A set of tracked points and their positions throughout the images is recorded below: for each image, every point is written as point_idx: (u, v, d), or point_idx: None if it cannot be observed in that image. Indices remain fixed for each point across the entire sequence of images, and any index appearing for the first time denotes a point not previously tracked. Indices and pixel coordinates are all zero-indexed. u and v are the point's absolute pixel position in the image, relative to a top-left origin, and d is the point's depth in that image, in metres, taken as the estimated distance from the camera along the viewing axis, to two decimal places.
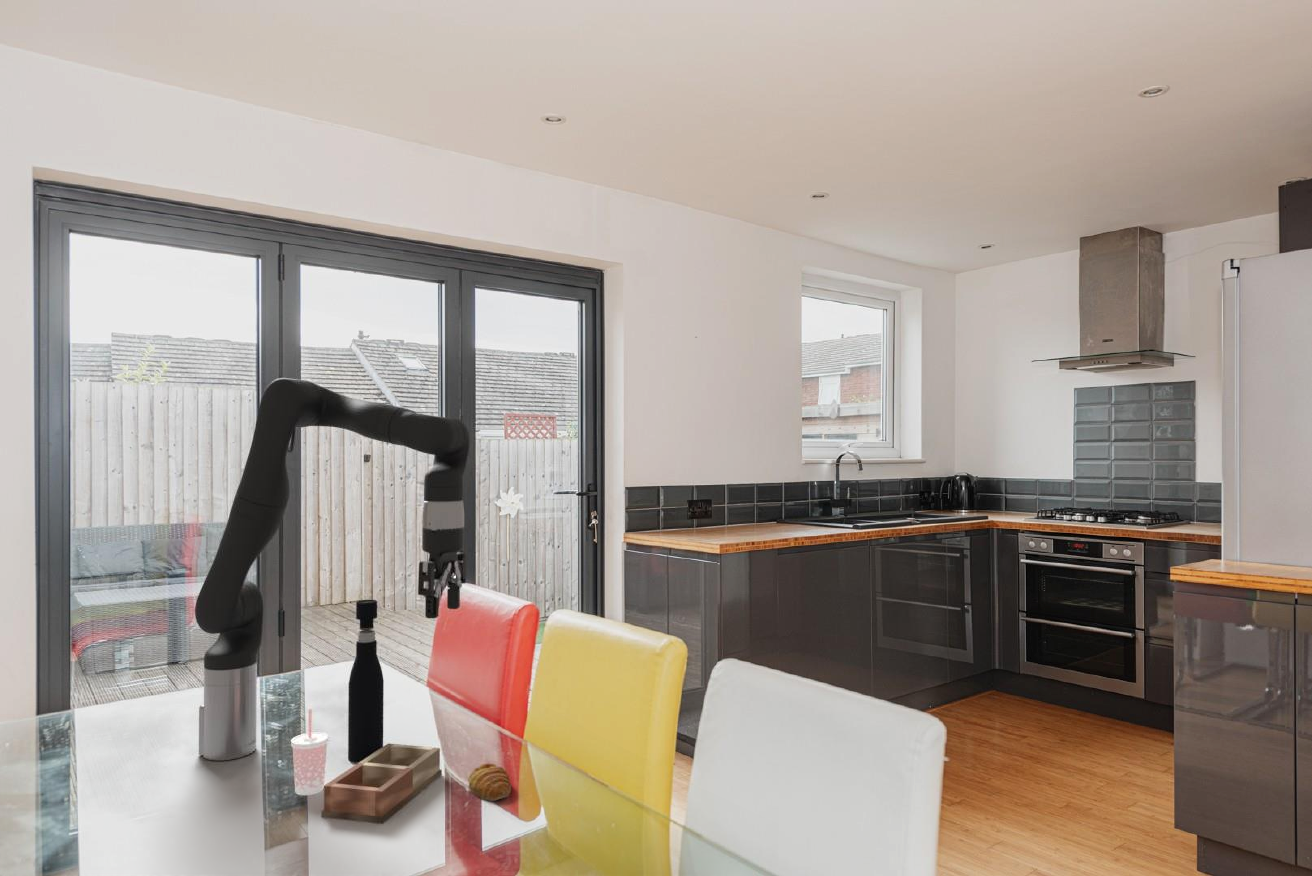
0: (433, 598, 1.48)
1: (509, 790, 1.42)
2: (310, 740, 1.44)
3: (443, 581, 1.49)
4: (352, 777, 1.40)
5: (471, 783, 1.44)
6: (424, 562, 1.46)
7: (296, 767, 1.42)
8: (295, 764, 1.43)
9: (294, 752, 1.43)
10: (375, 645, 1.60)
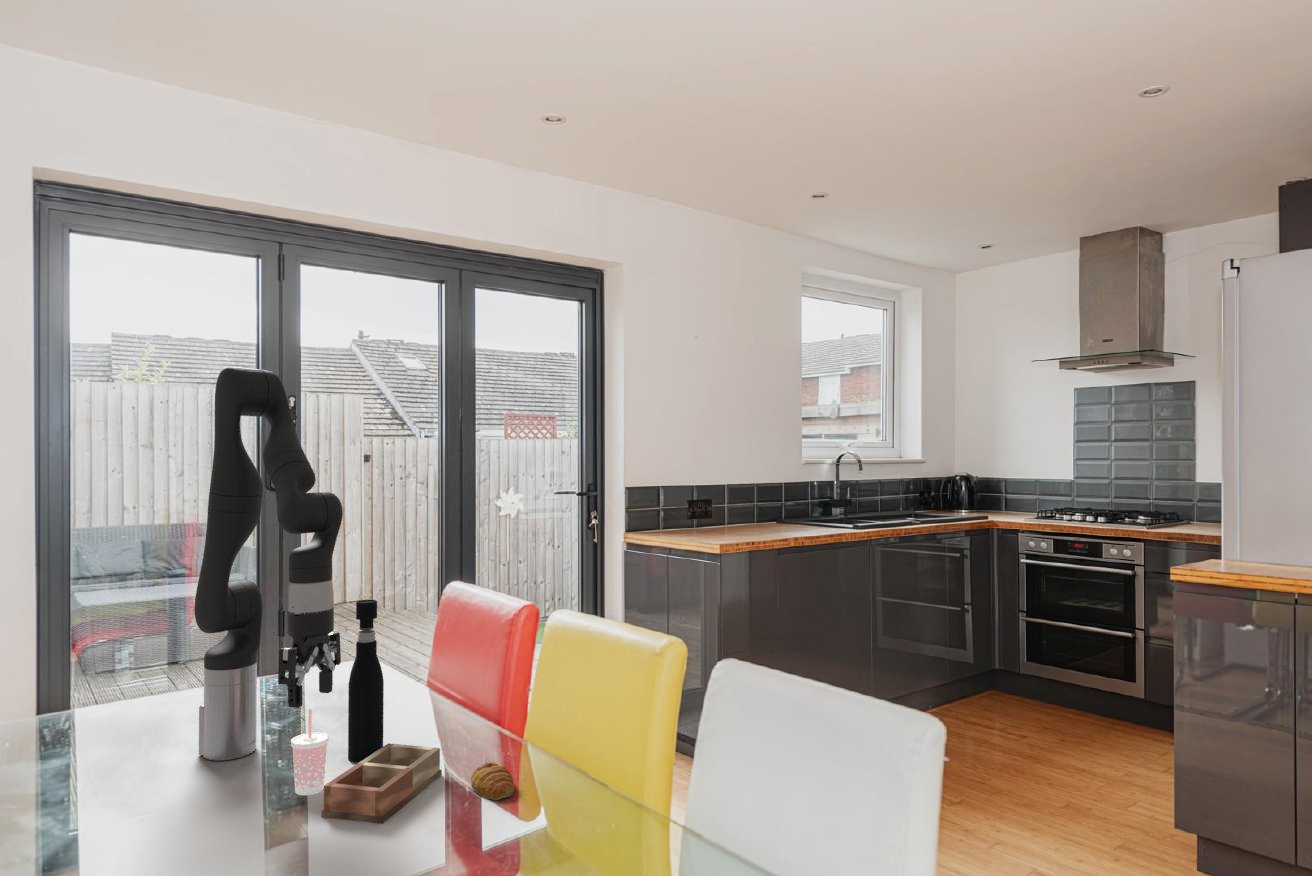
0: (296, 687, 1.40)
1: (512, 789, 1.42)
2: (310, 740, 1.44)
3: (308, 668, 1.41)
4: (352, 777, 1.40)
5: (474, 782, 1.44)
6: (284, 649, 1.39)
7: (296, 767, 1.42)
8: (295, 764, 1.43)
9: (294, 752, 1.43)
10: (375, 645, 1.60)
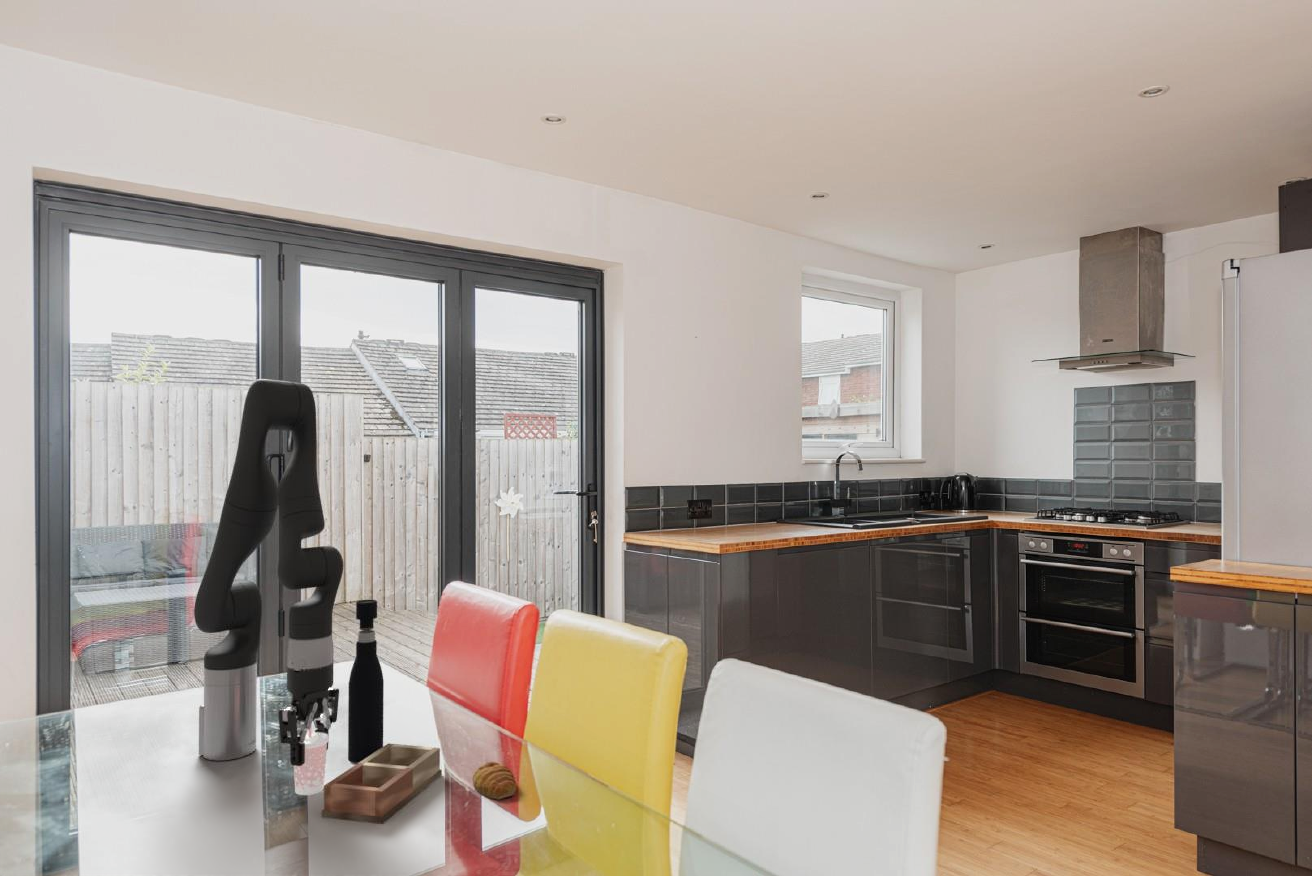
0: (299, 745, 1.41)
1: (515, 788, 1.42)
2: (310, 740, 1.44)
3: (309, 725, 1.42)
4: (352, 777, 1.40)
5: (476, 782, 1.44)
6: (284, 711, 1.38)
7: (296, 767, 1.42)
8: None
9: None
10: (375, 645, 1.60)
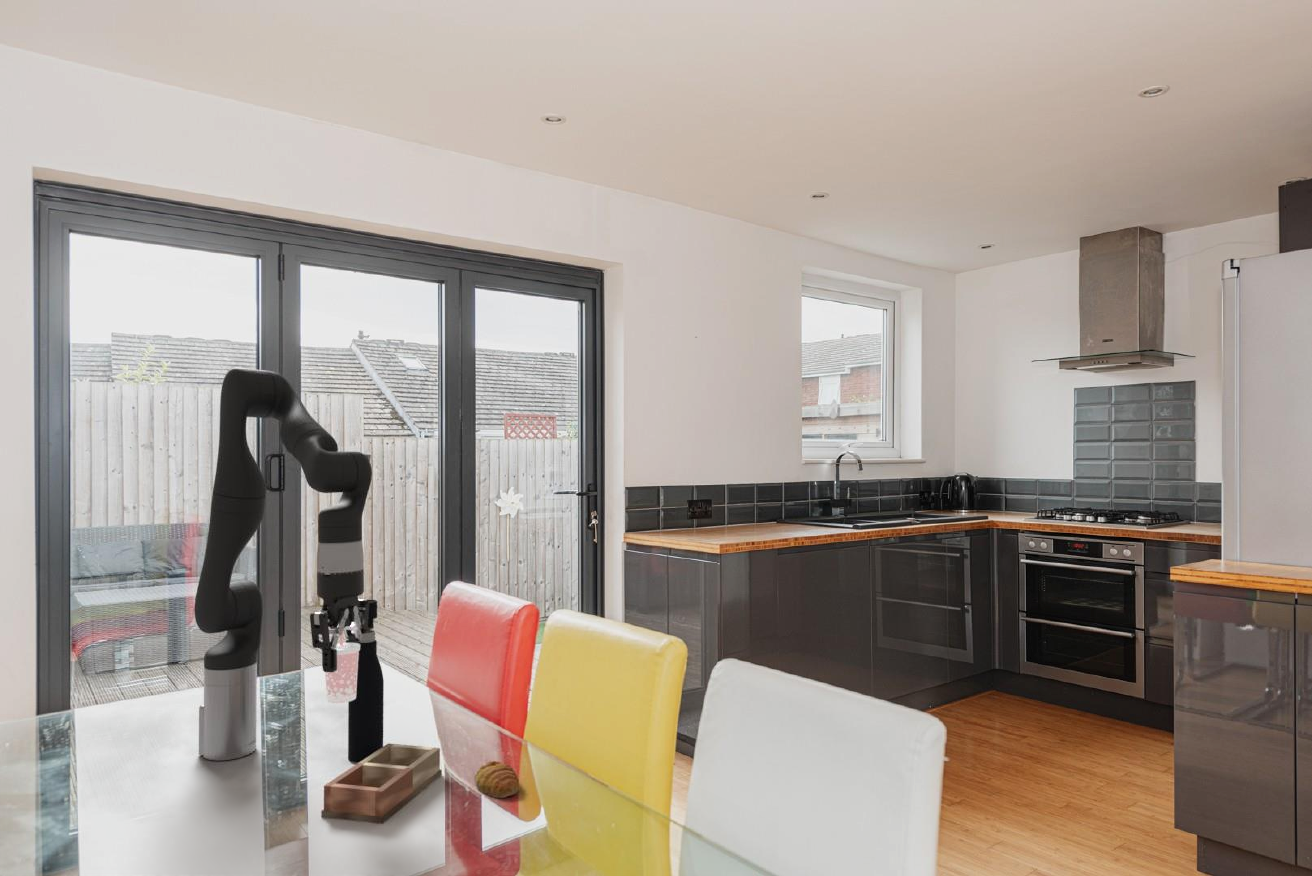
0: (331, 651, 1.37)
1: (518, 787, 1.43)
2: (342, 647, 1.40)
3: (340, 631, 1.38)
4: (352, 777, 1.40)
5: (479, 781, 1.45)
6: (315, 614, 1.35)
7: (328, 674, 1.39)
8: (327, 672, 1.39)
9: None
10: (375, 645, 1.60)
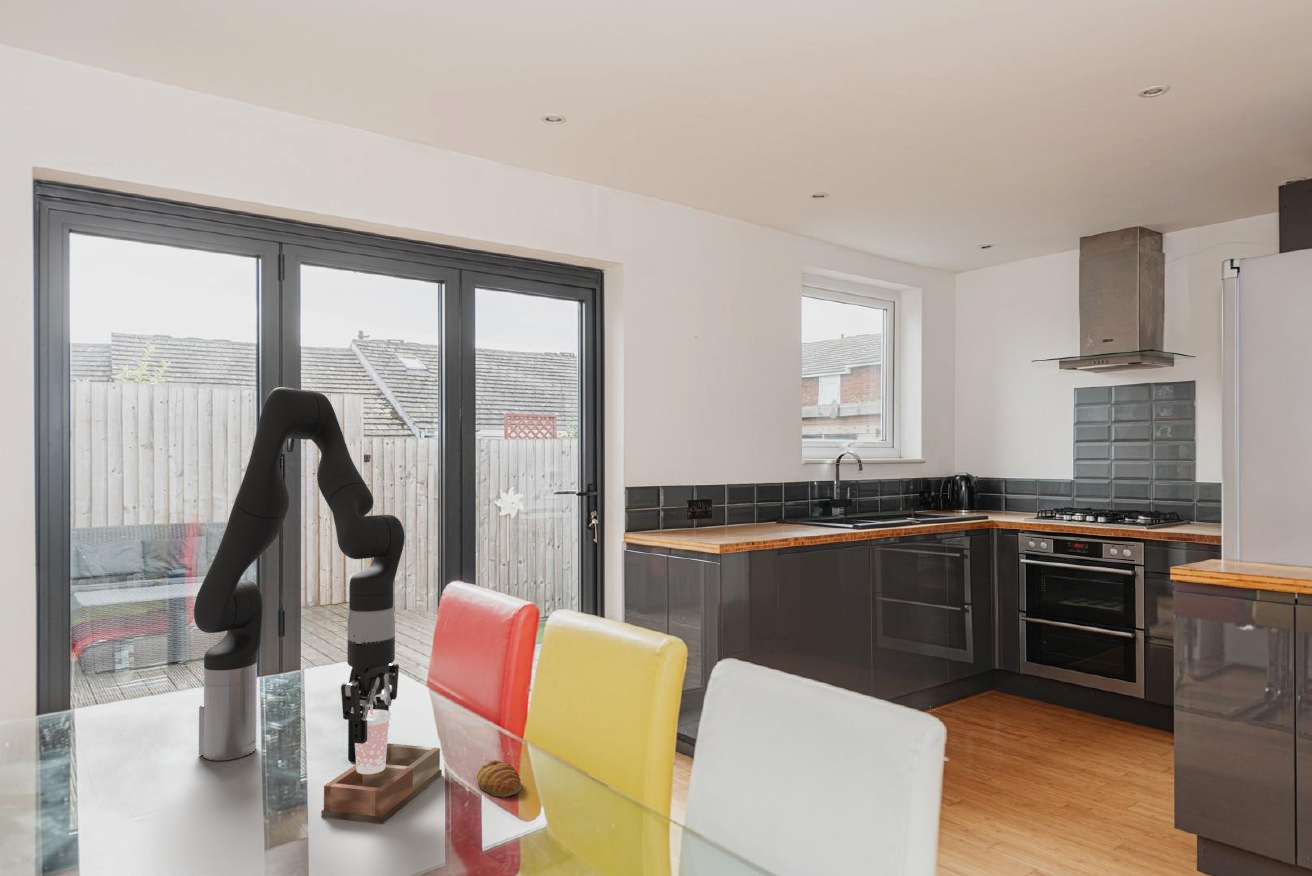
0: (361, 722, 1.34)
1: (520, 786, 1.43)
2: (372, 717, 1.37)
3: (371, 701, 1.35)
4: (352, 777, 1.40)
5: (480, 780, 1.45)
6: (346, 686, 1.32)
7: (358, 745, 1.36)
8: None
9: None
10: None
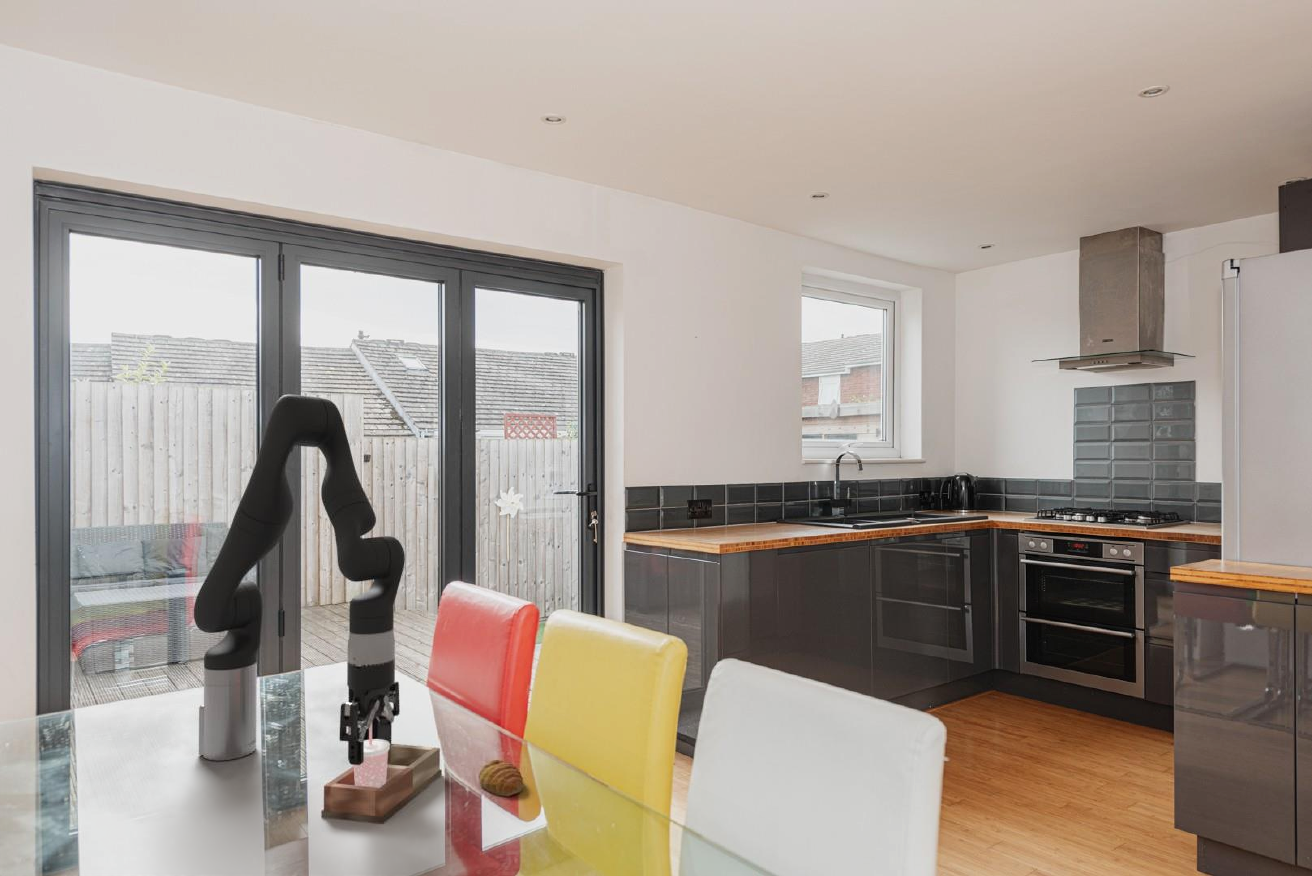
0: (357, 743, 1.33)
1: (523, 785, 1.44)
2: (371, 748, 1.37)
3: (369, 722, 1.35)
4: (352, 777, 1.40)
5: (483, 780, 1.45)
6: (346, 704, 1.32)
7: (357, 776, 1.36)
8: (356, 773, 1.36)
9: None
10: None
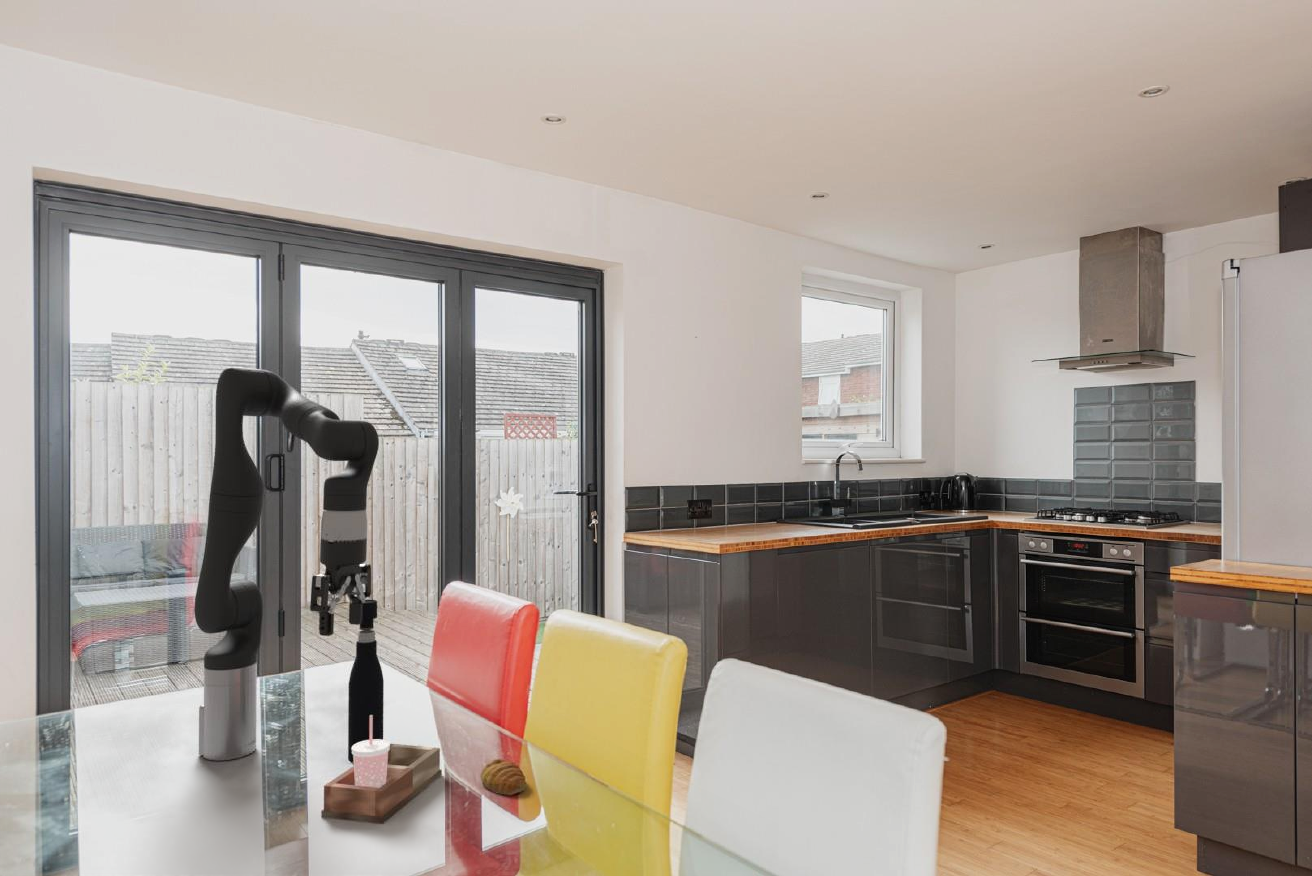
0: (327, 614, 1.38)
1: (525, 784, 1.44)
2: (371, 747, 1.37)
3: (340, 596, 1.39)
4: (352, 777, 1.40)
5: (485, 779, 1.45)
6: (318, 576, 1.36)
7: (358, 776, 1.36)
8: (356, 773, 1.36)
9: (355, 760, 1.37)
10: (375, 645, 1.60)
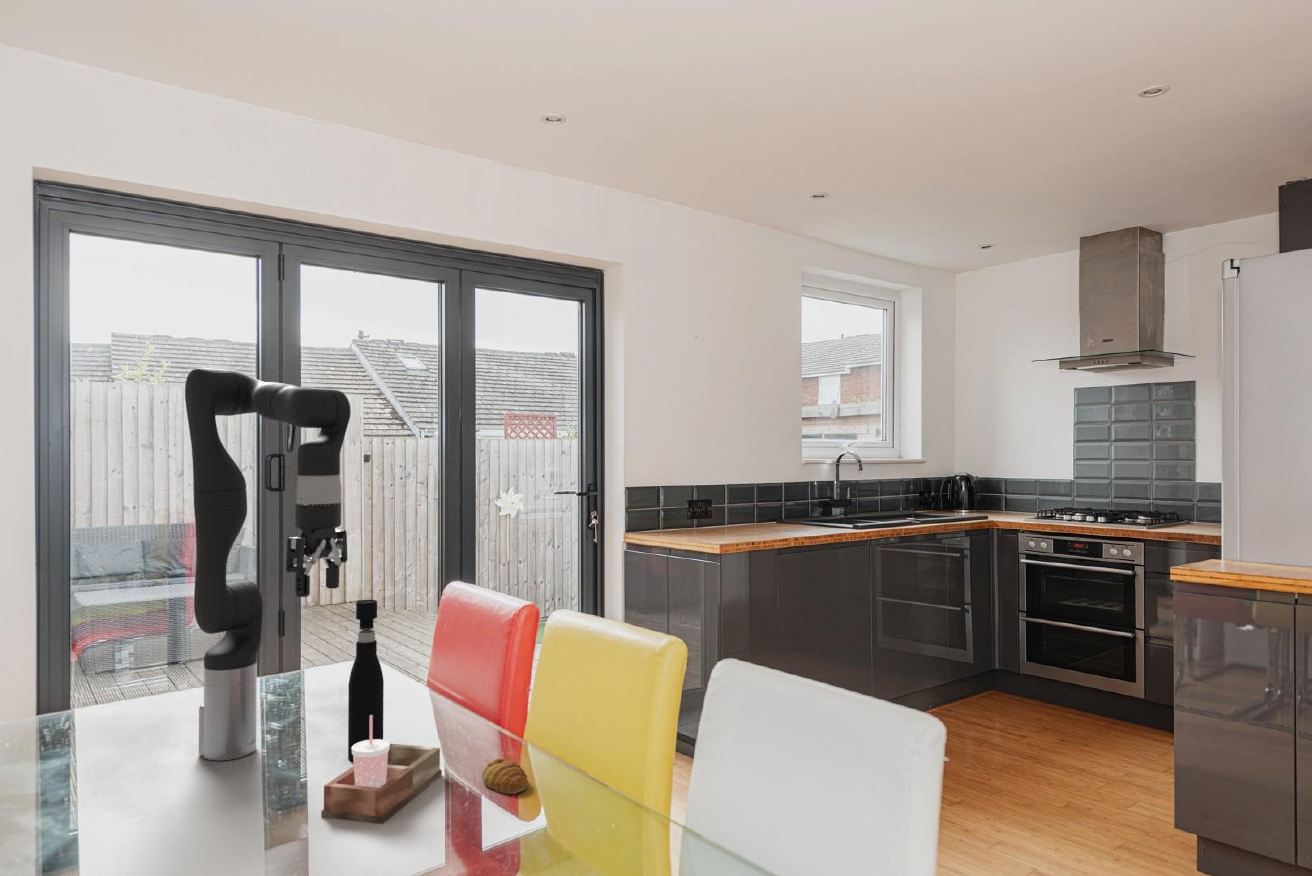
0: (303, 576, 1.42)
1: (527, 783, 1.45)
2: (371, 747, 1.37)
3: (315, 558, 1.43)
4: (352, 777, 1.40)
5: (487, 778, 1.46)
6: (293, 538, 1.41)
7: (358, 776, 1.36)
8: (356, 773, 1.36)
9: (355, 760, 1.37)
10: (375, 645, 1.60)
